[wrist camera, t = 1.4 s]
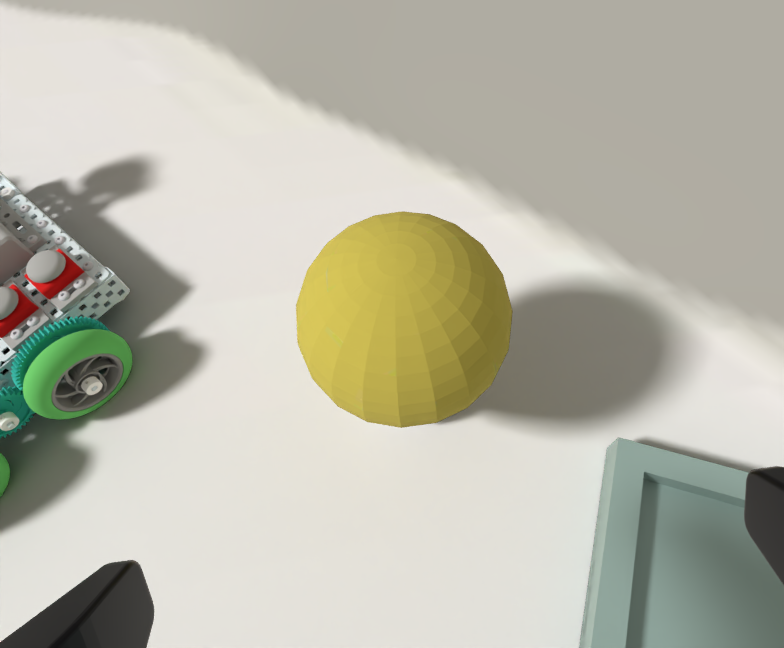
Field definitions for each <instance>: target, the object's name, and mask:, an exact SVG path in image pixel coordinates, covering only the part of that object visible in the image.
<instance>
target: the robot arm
mask: <svg viewBox="0 0 784 648" xmlns="http://www.w3.org/2000/svg"><path fill="white" fill-rule="evenodd" d="M744 522H745V526H746V529H747V531H748V533H749V535H750V537H751V538H752V540H753V541H754V543H755V544H756V546H757V547H758V549H759V550H760V552H761V553H762V554H763V556H764V557H765V559H766V560H767V562H768V563H769V565H770V566H771V568H772V569H773V571H774V572H775V574H776V575H777V577H778V578H779V579H780V581H781V582H782V584H783V585H784V467H779V466H775V467H768V468H761V469H754V470H752V471H751V472H749V473H748V475H747V478H746V489H745V506H744ZM153 620H154V605H153V601H152V598H151V595H150V592H149V589H148V586H147V583H146V580H145V577H144V574H143V571H142V569H141V566H140V565H139V563H138V562H136V561H134V560H128V561H121V562H114V563H109V564H106V565H104V566H103V567H101V568H100V569H99V570H97V571H96V572H95V573H93V574H92V575H91V576H89V577H88V578H86V579H85V580H84V581H82V582H81V583H80V584H78V585H77V586H76V587H74V588H73V589H72V590H70V591H69V592H68V593H66V594H65V595H63V596H62V597H61V598H59V599H58V600H57V601H55V602H54V603H53V604H51V605H50V606H49V607H47V608H46V609H45V610H43V611H42V612H40V613H39V614H38V615H36V616H35V617H34V618H32V619H31V620H30V621H28V622H27V623H26V624H24V625H23V626H22V627H20V628H19V629H17V630H16V631H15V632H13V633H12V634H11V635H9V636H8V637H7V638H5V639H4V640H3V641H1V642H0V648H146V647H147V643H148V640H149V636H150V632H151V628H152V624H153Z"/></svg>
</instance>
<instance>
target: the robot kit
mask: <svg viewBox="0 0 784 648" xmlns="http://www.w3.org/2000/svg"><path fill="white" fill-rule="evenodd" d="M2 187H3V188H2ZM1 188H2V189H1ZM0 206H1V207H0V286H1V285H2V284H3V285H2V286H1V287H0V439H1V437H2V436H3V437H4V438H6V436H7V434H9V435H12V432H13V431H14V432H17V429H18V428H19V429H22V427H21V426H22V425H26V423H25V422H26V421H27V422H29V421H30V419H29V418H32V417H33V415H32V414H34V413H37V414H39V415H41V416H43V417H46V418H50V419H70V418H75V417H79V416H82V415H85V414H87V413H89V412H91V411H93V410H95V409H97V408H99V407H100V406H102V405H103V404H105V403H106V402H107V401H108V400H110V399H111V398H112V397H113V396H114V395H115V394H116V393H117V392H118V391H119V390H120V389H121V387H122V386H123V385H124V383H125V382H126V380H127V378H128V376H129V374H130V371H131V367H132V353H131V350H130V347H129V345H128V344H127V342H126V341H125V340H124V339H123V338H122V337H120V336H119V335H117V334H115V333H113V332H111V331H109V329H108V328H107V327H106V326H105V325H104V324H102V323H101V322H99V321H98V320H97V319H98V318H99V317H101V316H102V315H103V314H104V313H105V312H107V311H108V310H109V309H110V308H111V307H112V306H114V305H115V304H116V303H118V302H120V301H123V300H124V299H125V297H126V296H127V295H128V294H129V293H130V289H129V288H128V287H127V286H126V285H125V284H124V283H123V282H122V281H121V280H120V279H119V277H118V276H117V275H116V274H115V273H114V272H113V271H111V270H110V269H109V268H108V267H107V266H106V267H104V266H103V265H102V264H101V263H100V262H99V261H97V260H96V259H95V258H94V257H93V256H92V255H91V254H90V253H88V252H87V251H86V250H85V249H84V248H83V247H82V246H81V245H79V244H78V243H77V242H76V241H75V240H74V239H73V238H72V237H70V236H69V235H68V234H67V233H66V232H65V231H64V230H63V229H61V228H60V227H59V226H58V225H57V224H56V223H55V222H54V221H52V220H51V219H50V218H49V217H48V216H47V215H46V214H45V213H43V212H42V211H41V210H40V209H39V208H38V207H37V206H36V205H34V204H33V203H32V202H31V201H30V200H29V199H28V198H27V197H25V196H24V195H23V194H22V193H21V191H20V190H19V189H18V188H17V187H16V186H15V185H14V184H13V183H12V182H11V181H9V180H8V179H7V178H6V177H5V176H4V175H3V174H2V173H1V172H0ZM21 225H22V226H23V228H21V229H20V230H19V231H18V230H17V228H18V227H20V226H21ZM47 243H49V244H47ZM34 252H36V254H34ZM81 258H82V259H81ZM79 259H80V260H79ZM78 260H79V261H78ZM18 272H19V273H20V275H19V276H17V277H16V278H15V277H14V275H15V274H16V273H18ZM98 275H101V277H100V278H98V279H97V278H96V277H97V276H98ZM26 281H28V282H29V284H28V285H27V286H25V287H24V286H23V284H24V283H25V282H26ZM108 283H110V284H111V286H109V285H108ZM95 287H97V288H95ZM94 288H95V289H94ZM36 290H37V291H38V292H39V293H37V294H36V295H35V296H34V297H33V296H32V295H31V294H32V293H33V292H35V291H36ZM97 292H99V293H101V295H99V296H98V297H97V298H95V297H94V295H95V294H96V293H97ZM83 297H84V298H83ZM81 298H83V299H82V300H81V301H80V299H81ZM44 300H47V301H48V302H47V303H46V304H45V305H44V306H42V305H41V303H42V302H43V301H44ZM79 301H80V302H79ZM107 301H109V302H108V303H107V304H106V305H105V306H104V304H105V303H106V302H107ZM96 302H97V303H96ZM83 304H85V305H86V307H85V308H84V309H83V310H80V309H79V307H80V306H82V305H83ZM93 304H94V305H93ZM92 305H93V306H92ZM91 306H92V307H91ZM55 309H56V310H57V311H58V312H57V313H56V314H54V315H53V316H52V315H51V314H50V313H51V312H52V311H54V310H55ZM68 309H70V310H69V311H67V310H68ZM66 311H67V312H66ZM65 312H66V313H65ZM64 313H65V314H64ZM93 313H95V314H94V315H93V316H92V317H89V316H90V315H92V314H93ZM63 314H64V315H63ZM81 314H82V315H81ZM62 315H63V316H62ZM80 315H81V316H80ZM68 316H69V317H70V319H69V320H68V319H67V317H68ZM79 316H80V317H79ZM78 317H79V318H78ZM96 320H97V321H96ZM18 350H19V352H18ZM6 371H7V373H6V374H4V373H5V372H6ZM62 378H64V379H62ZM10 401H12V403H11V402H10ZM9 478H10V468H9V464H8V462H7V460H6V458H5V457H4V456H3V455H2V454H1V453H0V497H1V496H2V494H3V493H4V491H5V489H6V487H7V485H8V482H9Z"/></svg>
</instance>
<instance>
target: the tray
mask: <svg viewBox="0 0 784 648" xmlns="http://www.w3.org/2000/svg"><path fill="white" fill-rule="evenodd" d="M747 475H748V472H745V471H741V470H737V469H734V468H730V467H726V466H723V465H719V464H715V463H711V462H708V461H704V460H700V459H697V458H693V457H689V456H686V455H682V454H678V453H675V452H671V451H667V450H663V449H660V448H656V447H652V446H649V445H645V444H641V443H638V442H634V441H630V440H626V439H623V438H619V437H618V438H617V439H616V440H615V441H614V442H613V443H612V444H611V445H610V446H609V447H608V448H607V452H606V459H605V467H604V474H603V481H602V488H601V495H600V502H599V509H598V517H597V524H596V531H595V538H594V545H593V552H592V560H591V567H590V574H589V581H588V588H587V595H586V602H585V610H584V617H583V624H582V631H581V638H580V645H579V648H784V585H783V584H782V582H781V581H780V579H779V578H778V577H777V575H776V574H775V572H774V571H773V569H772V568H771V566H770V565H769V563H768V562H767V560H766V559H765V557H764V556H763V554H762V553H761V552H760V550H759V549H758V547H757V546H756V544H755V543H754V541H753V540H752V538H751V537H750V535H749V533H748V531H747V529H746V526H745V522H744V506H745V489H746V478H747Z"/></svg>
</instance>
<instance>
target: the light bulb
mask: <svg viewBox="0 0 784 648" xmlns="http://www.w3.org/2000/svg"><path fill="white" fill-rule="evenodd" d="M296 315H297V340H298V345H299V348H300V351H301V353H302V355H303V358H304V360H305V362H306V365H307V367H308V369H309V372H310V374H311V377H312V378H313V380H314V381H315V382H316V383H317V384H318V386H319V387H320V388H321V389H322V390H323V391H324V392H325V393H326V394H327V395H328V396H329V397H330V398H331V399H332V400H333V402H334V403H335V404H336V405H337V406H338V407H340V408H342V409H344V410H346V411H348V412H350V413H352V414H353V415H355V416H357V417H359V418H361V419H363V420H365V421H367V422H371V423H377V424H383V425H389V426H395V427H401V428H402V427H409V426H416V425H423V424H431V423H437V422H439V421H441V420H443V419H445V418H447V417H449V416H451V415H453V414H456V413H458V412H460V411H462V410H464V409H466V408H468V407H469V406H470V405H471V404H472V403H473V402H474V401H475V400H476V399H477V398H478V397H479V396H480V395H481V394H482V393H483V392H484V391H485V390H486V389H487V388H488V387H489V386H491V384H492V382H493V380H494V378H495V376H496V374H497V372H498V370H499V368H500V366H501V364H502V362H503V360H504V358H505V356H506V354H507V352H508V350H509V340H510V331H511V321H512V308H511V304H510V300H509V296H508V292H507V289H506V285H505V281H504V277H503V274H502V273H501V271H500V270H499V268H498V267H497V265H496V264H495V262H494V261H493V259H492V258H491V256H490V255H489V254H488V252H487V251H486V249H485V248H484V246H483V245H482V244H481V243H480V242H478V241H477V240H476V239H474V238H473V237H472V236H470V235H469V234H468V233H466V232H465V231H464V230H462V229H461V228H460V227H458V226H457V225H456V224H454V223H451V222H448V221H446V220H443V219H440V218H438V217H435V216H433V215H430V214H421V213H411V212H396V213H389V214H382V215H375V216H372V217H370V218H368V219H365V220H363V221H360V222H358V223H356V224H353V225H351V226H349V227H347V228H346V229H345V230H344V231H342V232H341V233H340V234H338V235H337V236H336V237H334V238H333V239H332V240H331V241H329V242H328V243H327V244H326V245H325V247H324V248H323V249H322V251H321V252H320V253H319V255H318V256H317V257H316V259H315V260H314V262H313V263H312V264H311V266H310V267H309V269H308V270H307V273H306V276H305V279H304V282H303V285H302V288H301V291H300V295H299V298H298V301H297V304H296Z"/></svg>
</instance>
